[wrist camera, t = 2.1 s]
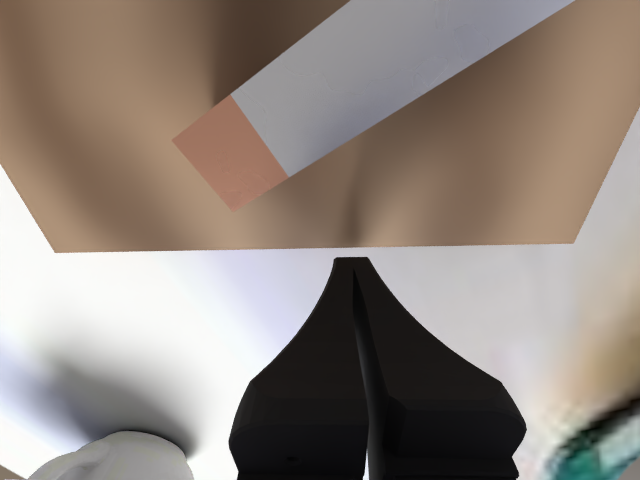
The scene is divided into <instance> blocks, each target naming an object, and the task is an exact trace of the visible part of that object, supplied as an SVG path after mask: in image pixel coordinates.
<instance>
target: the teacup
mask: <svg viewBox="0 0 640 480" xmlns="http://www.w3.org/2000/svg"><path fill="white" fill-rule="evenodd" d="M27 480H194V477H193V474H192V471H191V469H190V467H189V466H188V464H187V460H186V457H185V455H184V453H183V452H182V450H181V449H180V448H179V447H177V446H176V445H175V444H173V443H171V442H169V441H167V440H165V439H163V438H161V437H158V436H155V435H151V434H147V433H142V432H134V431H120V432H116V433H113V434H110V435H108V436H106V437H105V438H103V439H99V440H96V441H93V442H91V443H89V444H87V445H85V446H83V447H81V448H80V449H79V450H77V451H76V452H71V453H68V454H65V455H62V456H59V457H57V458H54V459H52V460H50V461H48V462H47V463H45V464H44V465H43V466H41V467H40V468H39V469H38V470H37V471H35V472H34V473H33V474H32V475H31V476H30V477H29V478H28V479H27Z"/></svg>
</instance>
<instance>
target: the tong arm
mask: <svg viewBox="0 0 640 480" xmlns="http://www.w3.org/2000/svg"><path fill="white" fill-rule="evenodd" d="M573 1H575V0H350V1H349V2H348V3H347V4H345V5H344V6H343V7H341V8H340V9H339V10H338V11H336V12H335V13H334V14H332V15H331V16H330V17H329V18H327V19H326V20H325V21H323V22H322V23H321V24H320V25H318V26H317V27H316V28H315V29H313V30H312V31H311V32H309V33H308V34H307V35H306V36H304V37H303V38H302V39H300V40H299V41H298V42H297V43H295V44H294V45H293V46H291V47H290V48H289V49H288V50H286V51H285V52H284V53H282V54H281V55H280V56H279V57H277V58H276V59H275V60H273V61H272V62H271V63H270V64H268V65H267V66H266V67H265V68H263V69H262V70H261V71H259V72H258V73H257V74H256V75H254V76H253V77H252V78H250V79H249V80H248V81H247V82H245V83H244V84H243V85H241V86H240V87H239V88H238V89H236V90H235V91H234V92H232V93H231V94H230V95H229V96H227V97H226V98H225V99H223V100H222V101H221V102H220V103H218V104H217V105H216V106H215V107H213V108H212V109H211V110H209V111H208V112H207V113H206V114H204V115H203V116H202V117H200V118H199V119H198V120H197V121H195V122H194V123H193V124H191V125H190V126H189V127H188V128H186V129H185V130H184V131H182V132H181V133H180V134H179V135H177V136H176V137H175V138H173V139H172V140H171V141H172V142H173V143H174V144H175V145H176V147H177V148H178V149H179V150H180V151H181V152H182V154H183V155H184V156H185V157H186V158H187V159H188V161H189V162H190V163H191V164H192V165H193V166H194V167H195V169H196V170H197V171H198V172H199V173H200V174H201V176H202V177H203V178H204V179H205V180H206V181H207V183H208V184H209V185H210V186H211V187H212V188H213V189H214V191H215V192H216V193H217V194H218V195H219V196H220V198H221V199H222V200H223V201H224V202H225V203H226V205H227V206H228V207H229V208H230V209H231V210H232V212H234V211H236V210H238V209H239V208H241V207H242V206H244V205H246V204H247V203H249V202H250V201H252V200H254V199H255V198H257V197H258V196H260V195H262V194H263V193H265V192H267V191H268V190H270V189H271V188H273V187H275V186H276V185H278V184H279V183H281V182H283V181H284V180H286V179H288V178H289V177H291V176H292V175H294V174H296V173H297V172H299V171H300V170H302V169H304V168H305V167H307V166H309V165H310V164H312V163H313V162H315V161H317V160H318V159H320V158H321V157H323V156H325V155H326V154H328V153H330V152H331V151H333V150H334V149H336V148H338V147H339V146H341V145H342V144H344V143H346V142H347V141H349V140H351V139H352V138H354V137H355V136H357V135H359V134H360V133H362V132H363V131H365V130H367V129H368V128H370V127H371V126H373V125H375V124H376V123H378V122H380V121H381V120H383V119H384V118H386V117H388V116H389V115H391V114H392V113H394V112H396V111H397V110H399V109H401V108H402V107H404V106H405V105H407V104H409V103H410V102H412V101H413V100H415V99H417V98H418V97H420V96H422V95H423V94H425V93H426V92H428V91H430V90H431V89H433V88H434V87H436V86H438V85H439V84H441V83H443V82H444V81H446V80H447V79H449V78H451V77H452V76H454V75H455V74H457V73H459V72H460V71H462V70H464V69H465V68H467V67H468V66H470V65H472V64H473V63H475V62H476V61H478V60H480V59H481V58H483V57H485V56H486V55H488V54H489V53H491V52H493V51H494V50H496V49H497V48H499V47H501V46H502V45H504V44H505V43H507V42H509V41H510V40H512V39H514V38H515V37H517V36H518V35H520V34H522V33H523V32H525V31H526V30H528V29H530V28H531V27H533V26H535V25H536V24H538V23H539V22H541V21H543V20H544V19H546V18H547V17H549V16H551V15H552V14H554V13H556V12H557V11H559V10H560V9H562V8H564V7H565V6H567V5H568V4H570V3H572V2H573Z"/></svg>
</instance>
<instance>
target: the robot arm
mask: <svg viewBox="0 0 640 480" xmlns="http://www.w3.org/2000/svg"><path fill="white" fill-rule="evenodd" d="M526 431H527V429H526V423H525V421H524V419H523V417H522V415H521V413H520V411H519V410H518V408H517V406H516V404H515V403H514V401H513V399H512V398H511V396H510V395H509V393H508V392H507V390H506V389H505V387H504V386H503V384H502V383H501V382H500V381H499V380H497V379H495V378H494V377H492V376H490V375H489V374H487V373H486V372H484V371H482V370H481V369H479V368H478V367H476V366H474V365H473V364H471V363H470V362H468V361H467V360H465V359H464V358H462V357H461V356H459V355H458V354H457V353H455V352H454V351H452V350H451V349H450V348H448V347H447V346H446V345H445V344H443V343H442V342H441V341H440V340H438V339H437V338H436V337H435V336H433V335H432V334H431V333H430V332H429V331H427V330H426V329H425V328H424V327H423V326H422V325H421V324H420V323H419V322H418V321H417V320H416V319H415V318H414V317H413V316H412V315H411V314H410V313H409V312H408V311H407V310H406V309H405V308H404V307H403V306H402V304H401V303H400V302H399V301H398V300H397V299H396V297H395V296H394V295H393V294H392V292H391V291H390V290H389V289H388V287H387V286H386V285H385V283H384V282H383V280H382V279H381V278H380V276H379V275H378V273H377V272H376V270H375V268H374V267H373V265H372V263H371V261H370V259H369V258H367V257H336V258H335V259H334V263H333V268H332V271H331V274H330V277H329V279H328V282H327V284H326V286H325V289H324V291H323V293H322V295H321V297H320V299H319V300H318V302H317V304H316V306H315V308H314V309H313V311H312V313H311V314H310V316H309V317H308V319H307V320H306V322H305V323H304V324H303V326H302V327H301V328H300V330H299V331H298V332H297V334H296V335H295V336H294V338H293V339H292V340H291V341H290V342H289V343H288V345H287V346H286V347H285V348H284V349H283V350H282V351H281V352H280V353H279V354H278V355H277V357H276V358H275V359H274V360H273V361H272V362H271V363H270V364H269V365H267V366H266V367H265V368H264V369H263V370H262V371H261V372H260V373H259V374H258V375H257V376H255V377H254V378H253V379H252V380H251V381H250V383H249V385H248V386H247V389H246V391H245V393H244V395H243V397H242V399H241V402H240V404H239V407H238V409H237V412H236V415H235V418H234V422H233V426H232V429H231V433H230V437H229V441H228V442H229V449H230V451H231V454H232V456H233V459H234V461H235V464H236V466H237V469H238V471H239V472H238V477H237V480H363V476H364V472H365V463H366V453H368V468H369V480H516V478H518V477H519V472H518V470H517V468H516V465H515V463H514V461H513V459H512V456H513V454H514V453H515V451H516V450H517V448H518V447H519V445H520V444H521V442H522V440H523V438H524V436H525V433H526ZM5 480H16V479H5ZM17 480H18V479H17ZM20 480H21V479H20Z"/></svg>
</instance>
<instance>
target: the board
mask: <svg viewBox="0 0 640 480" xmlns="http://www.w3.org/2000/svg"><path fill="white" fill-rule="evenodd" d="M349 1H350V0H0V164H1V166H2V167H3V169H4V170H5V172H6V174H7V175H8V177H9V179H10V180H11V182H12V184H13V185H14V187H15V188H16V190H17V192H18V193H19V195H20V197H21V198H22V200H23V201H24V203H25V205H26V206H27V208H28V210H29V211H30V213H31V214H32V216H33V218H34V219H35V221H36V223H37V224H38V226H39V228H40V229H41V231H42V232H43V234H44V236H45V237H46V239H47V241H48V242H49V244H50V245H51V247H52V249H53V250H54V252H55V253H74V252H129V251H185V250H240V249H296V248H351V247H407V246H462V245H518V244H573V243H574V242H575V239H576V237H577V235H578V233H579V231H580V229H581V227H582V225H583V223H584V221H585V219H586V217H587V215H588V213H589V210H590V208H591V206H592V204H593V202H594V200H595V198H596V196H597V194H598V192H599V190H600V188H601V186H602V183H603V181H604V179H605V177H606V175H607V173H608V171H609V169H610V167H611V165H612V163H613V161H614V159H615V157H616V154H617V152H618V150H619V148H620V146H621V144H622V142H623V140H624V138H625V136H626V134H627V132H628V130H629V128H630V125H631V123H632V121H633V119H634V117H635V115H636V113H637V111H638V109H639V107H640V0H575V1H573V2H572V3H570V4H568V5H567V6H565V7H564V8H562V9H560V10H559V11H557V12H556V13H554V14H552V15H551V16H549V17H547V18H546V19H544V20H543V21H541V22H539V23H538V24H536V25H535V26H533V27H531V28H530V29H528V30H526V31H525V32H523V33H522V34H520V35H518V36H517V37H515V38H514V39H512V40H510V41H509V42H507V43H505V44H504V45H502V46H501V47H499V48H497V49H496V50H494V51H493V52H491V53H489V54H488V55H486V56H485V57H483V58H481V59H480V60H478V61H476V62H475V63H473V64H472V65H470V66H468V67H467V68H465V69H464V70H462V71H460V72H459V73H457V74H455V75H454V76H452V77H451V78H449V79H447V80H446V81H444V82H443V83H441V84H439V85H438V86H436V87H434V88H433V89H431V90H430V91H428V92H426V93H425V94H423V95H422V96H420V97H418V98H417V99H415V100H413V101H412V102H410V103H409V104H407V105H405V106H404V107H402V108H401V109H399V110H397V111H396V112H394V113H392V114H391V115H389V116H388V117H386V118H384V119H383V120H381V121H380V122H378V123H376V124H375V125H373V126H371V127H370V128H368V129H367V130H365V131H363V132H362V133H360V134H359V135H357V136H355V137H354V138H352V139H351V140H349V141H347V142H346V143H344V144H342V145H341V146H339V147H338V148H336V149H334V150H333V151H331V152H330V153H328V154H326V155H325V156H323V157H321V158H320V159H318V160H317V161H315V162H313V163H312V164H310V165H309V166H307V167H305V168H304V169H302V170H300V171H299V172H297V173H296V174H294V175H292V176H291V177H289V178H288V179H286V180H284V181H283V182H281V183H279V184H278V185H276V186H275V187H273V188H271V189H270V190H268V191H267V192H265V193H263V194H262V195H260V196H258V197H257V198H255V199H254V200H252V201H250V202H249V203H247V204H246V205H244V206H242V207H241V208H239V209H238V210H236V211H234V212H232V210H231V209H230V208H229V207H228V206H227V205H226V203H225V202H224V201H223V200H222V199H221V198H220V196H219V195H218V194H217V193H216V192H215V191H214V189H213V188H212V187H211V186H210V185H209V184H208V183H207V181H206V180H205V179H204V178H203V177H202V176H201V174H200V173H199V172H198V171H197V170H196V169H195V167H194V166H193V165H192V164H191V163H190V162H189V161H188V159H187V158H186V157H185V156H184V155H183V154H182V152H181V151H180V150H179V149H178V148H177V147H176V145H175V144H174V143H173V142H172V141H171V140H172V139H173V138H175V137H176V136H177V135H179V134H180V133H181V132H182V131H184V130H185V129H186V128H188V127H189V126H190V125H191V124H193V123H194V122H195V121H197V120H198V119H199V118H200V117H202V116H203V115H204V114H206V113H207V112H208V111H209V110H211V109H212V108H213V107H215V106H216V105H217V104H218V103H220V102H221V101H222V100H223V99H225V98H226V97H227V96H229V95H230V94H231V93H232V92H234V91H235V90H236V89H238V88H239V87H240V86H241V85H243V84H244V83H245V82H247V81H248V80H249V79H250V78H252V77H253V76H254V75H256V74H257V73H258V72H259V71H261V70H262V69H263V68H265V67H266V66H267V65H268V64H270V63H271V62H272V61H273V60H275V59H276V58H277V57H279V56H280V55H281V54H282V53H284V52H285V51H286V50H288V49H289V48H290V47H291V46H293V45H294V44H295V43H297V42H298V41H299V40H300V39H302V38H303V37H304V36H306V35H307V34H308V33H309V32H311V31H312V30H313V29H315V28H316V27H317V26H318V25H320V24H321V23H322V22H323V21H325V20H326V19H327V18H329V17H330V16H331V15H332V14H334V13H335V12H336V11H338V10H339V9H340V8H341V7H343V6H344V5H345V4H347V3H348V2H349Z"/></svg>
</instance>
